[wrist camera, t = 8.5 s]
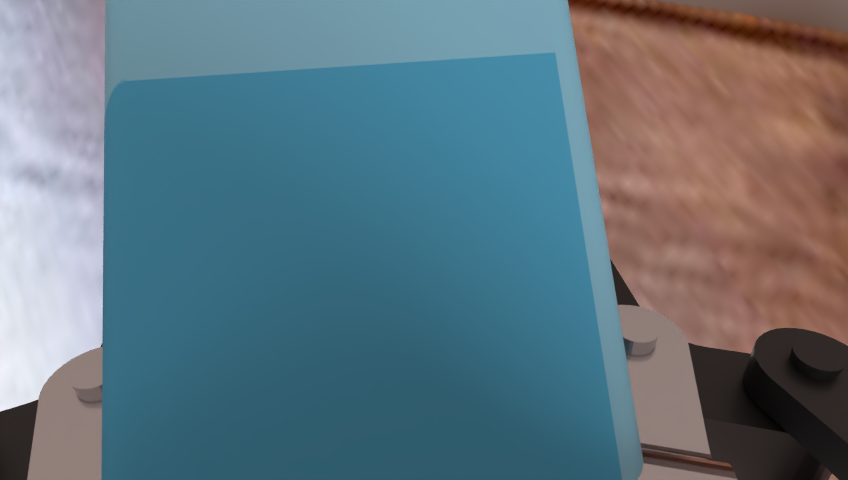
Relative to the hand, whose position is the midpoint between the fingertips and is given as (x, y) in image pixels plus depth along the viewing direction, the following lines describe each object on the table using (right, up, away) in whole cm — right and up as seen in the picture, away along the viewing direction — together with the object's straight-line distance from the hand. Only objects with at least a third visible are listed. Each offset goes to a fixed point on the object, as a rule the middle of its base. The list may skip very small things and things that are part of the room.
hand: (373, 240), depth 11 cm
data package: (0, -2, +6) cm, 6 cm away
